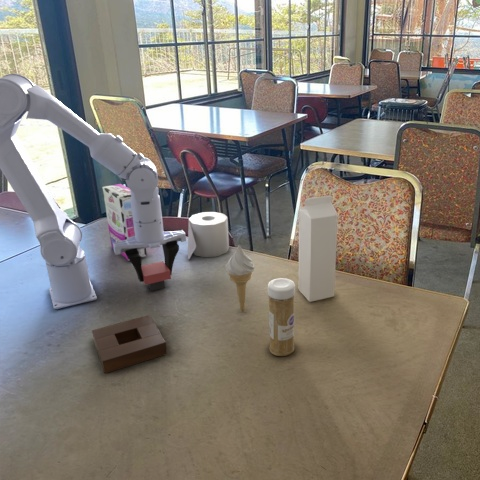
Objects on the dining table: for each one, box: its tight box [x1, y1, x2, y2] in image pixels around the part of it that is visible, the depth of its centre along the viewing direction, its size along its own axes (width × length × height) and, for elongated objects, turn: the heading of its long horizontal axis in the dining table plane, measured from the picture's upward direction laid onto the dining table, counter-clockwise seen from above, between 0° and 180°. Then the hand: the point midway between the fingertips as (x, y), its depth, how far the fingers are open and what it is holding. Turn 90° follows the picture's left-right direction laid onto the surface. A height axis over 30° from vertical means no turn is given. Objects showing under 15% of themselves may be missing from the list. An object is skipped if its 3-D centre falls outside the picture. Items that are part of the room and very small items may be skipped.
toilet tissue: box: [187, 211, 230, 261], centre depth 120 cm, size 9×13×9 cm
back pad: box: [141, 260, 172, 292], centre depth 105 cm, size 5×5×4 cm
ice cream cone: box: [224, 244, 255, 313], centre depth 94 cm, size 6×6×15 cm
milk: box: [297, 195, 339, 303], centre depth 100 cm, size 6×6×22 cm
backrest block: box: [91, 314, 168, 374], centre depth 85 cm, size 10×10×2 cm
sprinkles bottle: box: [267, 277, 296, 357], centre depth 83 cm, size 5×5×14 cm
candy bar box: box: [101, 183, 148, 262], centre depth 118 cm, size 11×5×16 cm, turn 43°
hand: (154, 276), depth 104 cm, fingers closed on back pad, 5 cm apart
